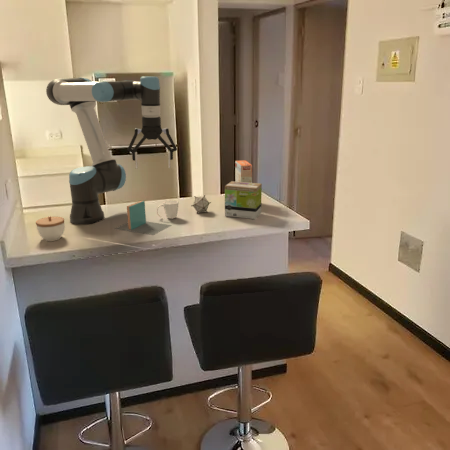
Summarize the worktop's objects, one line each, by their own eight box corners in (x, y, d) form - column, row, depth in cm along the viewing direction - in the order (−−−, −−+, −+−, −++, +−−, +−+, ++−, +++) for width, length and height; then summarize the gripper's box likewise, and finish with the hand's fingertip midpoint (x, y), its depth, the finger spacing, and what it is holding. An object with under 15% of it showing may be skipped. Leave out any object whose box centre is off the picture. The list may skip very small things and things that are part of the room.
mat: (114, 229, 201) (114, 228, 201) (134, 220, 213) (134, 219, 212) (153, 236, 192) (153, 235, 192) (171, 226, 204) (171, 225, 204)
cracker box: (252, 207, 231) (252, 164, 225) (240, 207, 230) (240, 165, 224) (246, 199, 245) (246, 159, 238) (235, 200, 244) (234, 160, 237)
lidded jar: (32, 240, 190) (29, 217, 187) (55, 232, 199) (52, 211, 196) (49, 245, 184) (46, 222, 181) (71, 237, 193) (69, 215, 190)
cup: (180, 221, 211) (179, 203, 209) (157, 222, 210) (156, 205, 207) (178, 216, 218) (177, 199, 215) (156, 218, 216) (155, 201, 214)
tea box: (224, 217, 217) (223, 185, 212) (231, 211, 226) (230, 180, 221) (256, 219, 212) (256, 187, 207) (261, 213, 221) (262, 182, 216)
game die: (204, 220, 224) (208, 207, 216) (187, 214, 224) (190, 200, 216) (210, 207, 229) (214, 194, 221) (194, 201, 230) (197, 187, 222)
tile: (128, 229, 200) (126, 206, 197) (142, 222, 208) (141, 200, 205) (132, 229, 199) (130, 206, 196) (146, 223, 207) (144, 201, 204)
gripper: (119, 117, 186) (122, 170, 193) (182, 117, 190) (183, 169, 197) (120, 115, 193) (123, 166, 200) (181, 115, 197) (182, 165, 204)
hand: (153, 167), depth 199 cm, fingers open, 13 cm apart
